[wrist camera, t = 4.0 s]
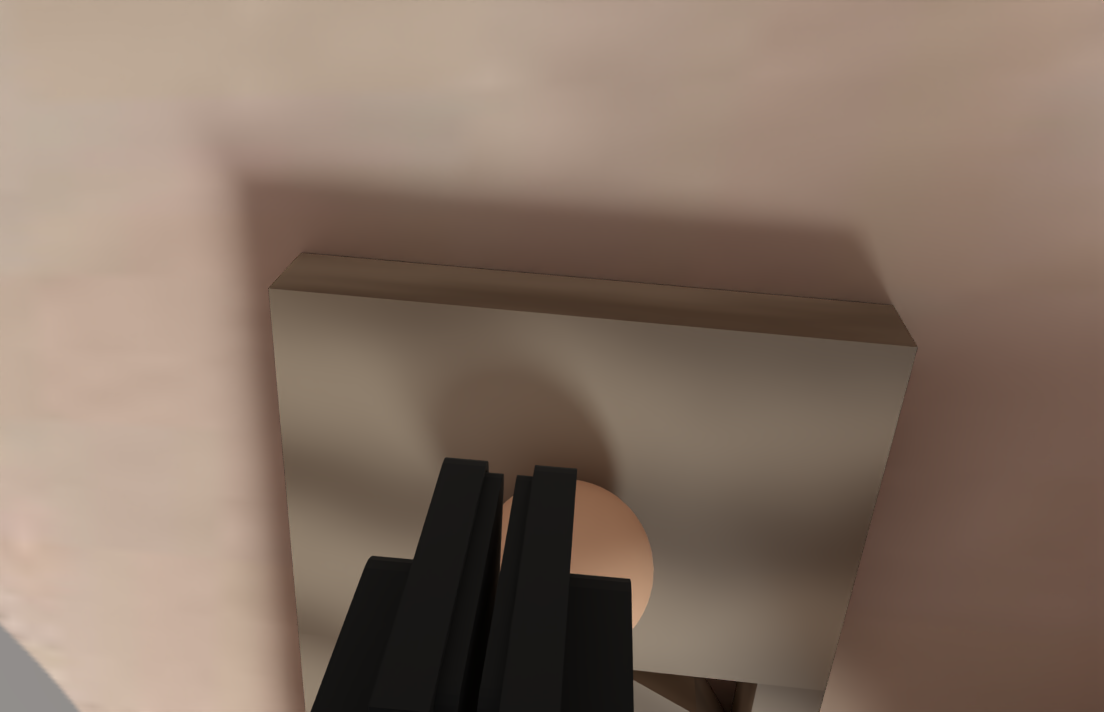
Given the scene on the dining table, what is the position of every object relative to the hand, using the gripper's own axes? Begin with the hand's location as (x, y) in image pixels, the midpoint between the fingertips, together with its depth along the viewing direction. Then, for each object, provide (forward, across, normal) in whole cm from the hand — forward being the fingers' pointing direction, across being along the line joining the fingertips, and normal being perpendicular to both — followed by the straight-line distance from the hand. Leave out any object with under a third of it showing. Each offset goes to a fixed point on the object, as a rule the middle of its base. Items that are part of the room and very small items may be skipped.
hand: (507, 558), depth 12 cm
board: (+14, -1, +14) cm, 20 cm away
